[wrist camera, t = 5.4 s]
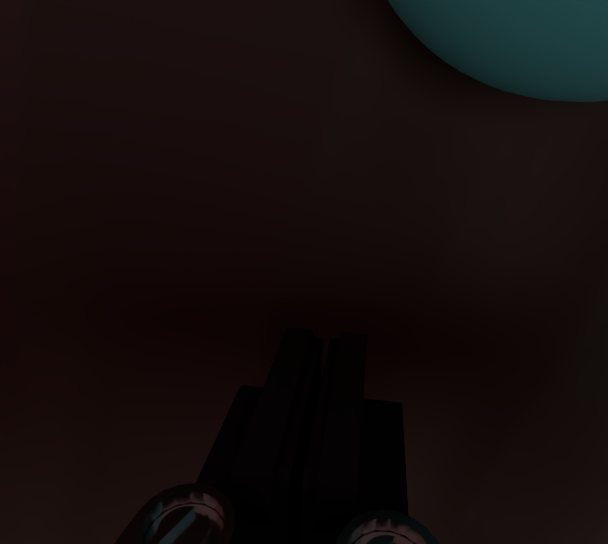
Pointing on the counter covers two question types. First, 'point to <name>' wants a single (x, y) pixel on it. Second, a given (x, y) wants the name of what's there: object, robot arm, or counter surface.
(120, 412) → the counter surface
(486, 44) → the ball
